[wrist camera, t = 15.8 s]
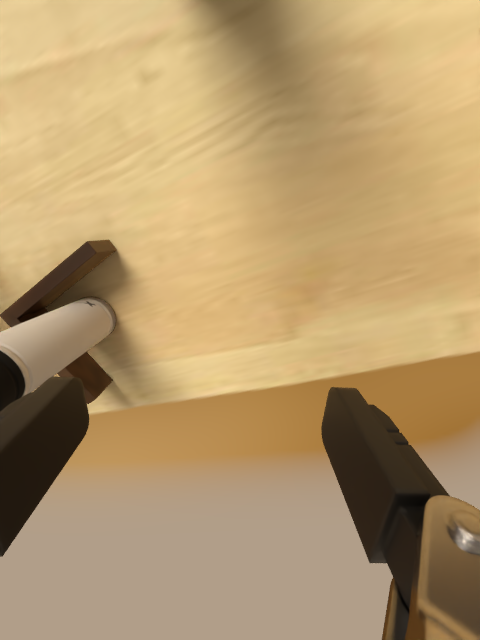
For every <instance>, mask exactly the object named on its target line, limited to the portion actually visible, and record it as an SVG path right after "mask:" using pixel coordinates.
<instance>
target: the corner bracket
mask: <svg viewBox="0 0 480 640" xmlns="http://www.w3.org/2000/svg"><path fill="white" fill-rule="evenodd" d="M115 251H116V248H115V247H114V246H113V245H112V243H111V242H110V241H109V240H100V241H87V242H86V243H84V244H83V245H82V246H81V247H80V248H79V249H77V250H76V251H75V252H74V253H73V254H71V255H70V256H69V257H68V258H67V259H66V260H64V261H63V262H62V263H61V264H60V265H58V266H57V267H56V268H55V269H54V270H53V271H51V272H50V273H49V274H48V275H47V276H45V277H44V278H43V279H42V280H41V281H40V282H38V283H37V284H36V285H35V286H34V287H32V288H31V289H30V290H29V291H28V292H27V293H25V294H24V295H23V296H22V297H21V298H19V299H18V300H17V301H16V302H15V303H14V304H12V305H11V306H10V307H9V308H8V309H6V310H5V311H4V312H3V313H2V314H0V317H1V318H2V319H3V320H4V321H5V322H6V323H7V324H8V325H9V326H10V327H14V326H16V325H18V324H21V323H23V322H26V321H28V320H31V319H33V318H36V317H38V316H41V315H43V314H45V313H48V311H47V310H46V308H45V307H47V306H48V305H49V304H50V303H52V302H53V301H54V300H55V299H57V298H58V297H59V296H60V295H62V294H63V293H64V292H65V291H66V290H68V289H69V288H70V287H71V286H73V285H74V284H75V283H76V282H78V281H79V280H80V279H81V278H83V277H84V276H85V275H86V274H88V273H89V272H90V271H91V270H92V269H94V268H95V267H96V266H97V265H99V264H100V263H101V262H102V261H104V260H105V259H106V258H107V257H109V256H110V255H111V254H112V253H113V252H115ZM57 374H58V375H59V376H60V377H77V378H80V379H81V380H82V382H83V387H84V392H85V398H86V403H87V404H89V403H91V402H92V401H94V400H95V399H96V398H97V397H98V396H99V395H100V394H101V393H102V392H103V391H104V390H105V389H106V387H107V386H108V385H109V384H110V383H111V382H112V381H113V380H112V379H111V378H110V377H109V376H108V375H107V374H106V372H105V371H104V370H103V369H102V368H101V367H100V366H99V365H98V364H97V363H96V362H95V361H94V360H93V359H92V358H91V356H90V355H89V354H88V353H87V352H85V353H84V354H82V355H81V356H80V357H78V358H77V359H75V360H74V361H73V362H71V363H70V364H69V365H67V366H66V367H65V368H63V369H62V370H61V371H59V372H58V373H57Z"/></svg>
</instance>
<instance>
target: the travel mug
mask: <svg viewBox="0 0 480 640" xmlns="http://www.w3.org/2000/svg"><path fill="white" fill-rule="evenodd" d="M115 324H116V318H115V314H114V312H113V310H112V308H111V307H110V306H109V305H108V304H107V303H106V302H105V301H103V300H101V299H99V298H96V297H86V298H82V299H80V300H78V301H75V302H72V303H70V304H68V305H65V306H63V307H60V308H58V309H55V310H53V311H50V312H48V313H45V314H43V315H41V316H38V317H36V318H33V319H31V320H28V321H26V322H23V323H21V324H18V325H16V326H14V327H11V328H9V329H6V330H4V331H1V332H0V411H1V410H3V409H4V408H5V407H6V406H7V405H9V404H10V403H12V402H14V401H15V400H17V399H19V398H21V397H23V396H25V395H27V394H28V393H30V392H32V391H34V390H35V389H36V388H38V387H39V386H40V385H42V384H43V383H44V382H45V381H46V380H47V379H49V378H50V377H53V376H54V375H55V374H57V373H58V372H59V371H61V370H62V369H63V368H65V367H66V366H67V365H69V364H70V363H71V362H73V361H74V360H75V359H77V358H78V357H80V356H81V355H82V354H84V353H85V352H86V351H88V350H89V349H90V348H92V347H93V346H94V345H96V344H97V343H98V342H100V341H101V340H102V339H104V338H105V337H107V336H108V335H109V334H110V333H112V331H113V330H114V328H115Z"/></svg>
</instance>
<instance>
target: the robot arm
mask: <svg viewBox="0 0 480 640" xmlns="http://www.w3.org/2000/svg"><path fill="white" fill-rule="evenodd" d="M88 425H89V414H88V408H87V403H86V398H85V392H84V387H83V382H82V380H81V379H80V378H77V377H50V378H49V379H47V380H46V381H45V382H44V383H43V384H42V385H41V386H39V387H38V388H37V389H36V390H35V391H34V392H30V393H28V394H27V395H25V396H23V397H21V398H19V399H17V400H15V401H14V402H12V403H10V404H9V405H7V406H6V407H5V408H4V409H3V410H1V411H0V556H3V555H4V553H5V552H6V551H7V549H8V548H9V546H10V545H11V543H12V541H13V540H14V539H15V537H16V536H17V534H18V533H19V531H20V530H21V529H22V527H23V525H24V524H25V523H26V521H27V520H28V518H29V517H30V515H31V514H32V512H33V511H34V510H35V508H36V507H37V505H38V504H39V502H40V501H41V499H42V498H43V496H44V495H45V493H46V492H47V491H48V489H49V488H50V486H51V485H52V483H53V482H54V480H55V479H56V477H57V476H58V474H59V473H60V472H61V470H62V469H63V467H64V466H65V464H66V463H67V461H68V460H69V458H70V457H71V455H72V454H73V452H74V451H75V450H76V448H77V447H78V445H79V444H80V442H81V441H82V439H83V438H84V436H85V434H86V432H87V429H88ZM322 439H323V443H324V446H325V449H326V452H327V454H328V457H329V459H330V462H331V465H332V467H333V470H334V472H335V475H336V477H337V480H338V483H339V485H340V488H341V490H342V493H343V495H344V498H345V501H346V503H347V506H348V508H349V511H350V513H351V516H352V519H353V521H354V524H355V526H356V529H357V531H358V534H359V537H360V539H361V542H362V544H363V547H364V549H365V552H366V554H367V557H368V560H369V562H370V563H387V564H388V566H389V568H390V570H391V573H392V575H393V579H392V581H391V585H390V592H389V597H388V604H387V610H386V617H385V623H384V629H383V636H382V640H480V510H478V509H477V508H475V507H474V506H472V505H470V504H468V503H467V502H464V501H462V500H460V499H457V498H454V497H450V496H449V495H448V493H447V492H446V491H445V489H444V488H443V487H442V485H441V484H440V483H439V481H438V480H437V479H436V478H435V476H434V475H433V474H432V472H431V471H430V470H429V468H428V467H427V466H426V464H425V463H424V462H423V461H422V459H421V458H420V457H419V455H418V454H417V453H416V451H415V450H414V449H413V447H412V446H411V445H408V441H407V440H406V439H405V437H404V436H403V435H402V433H399V429H398V428H397V427H396V425H395V424H394V423H393V421H392V420H391V419H390V418H389V417H388V416H387V415H386V414H385V413H384V412H382V411H381V410H380V409H378V408H377V407H376V406H374V405H368V404H367V402H366V401H365V399H364V398H363V397H362V395H361V394H360V392H359V391H358V390H357V389H355V388H338V387H337V388H335V387H332V388H331V389H330V390H329V393H328V398H327V402H326V407H325V412H324V417H323V422H322Z"/></svg>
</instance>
